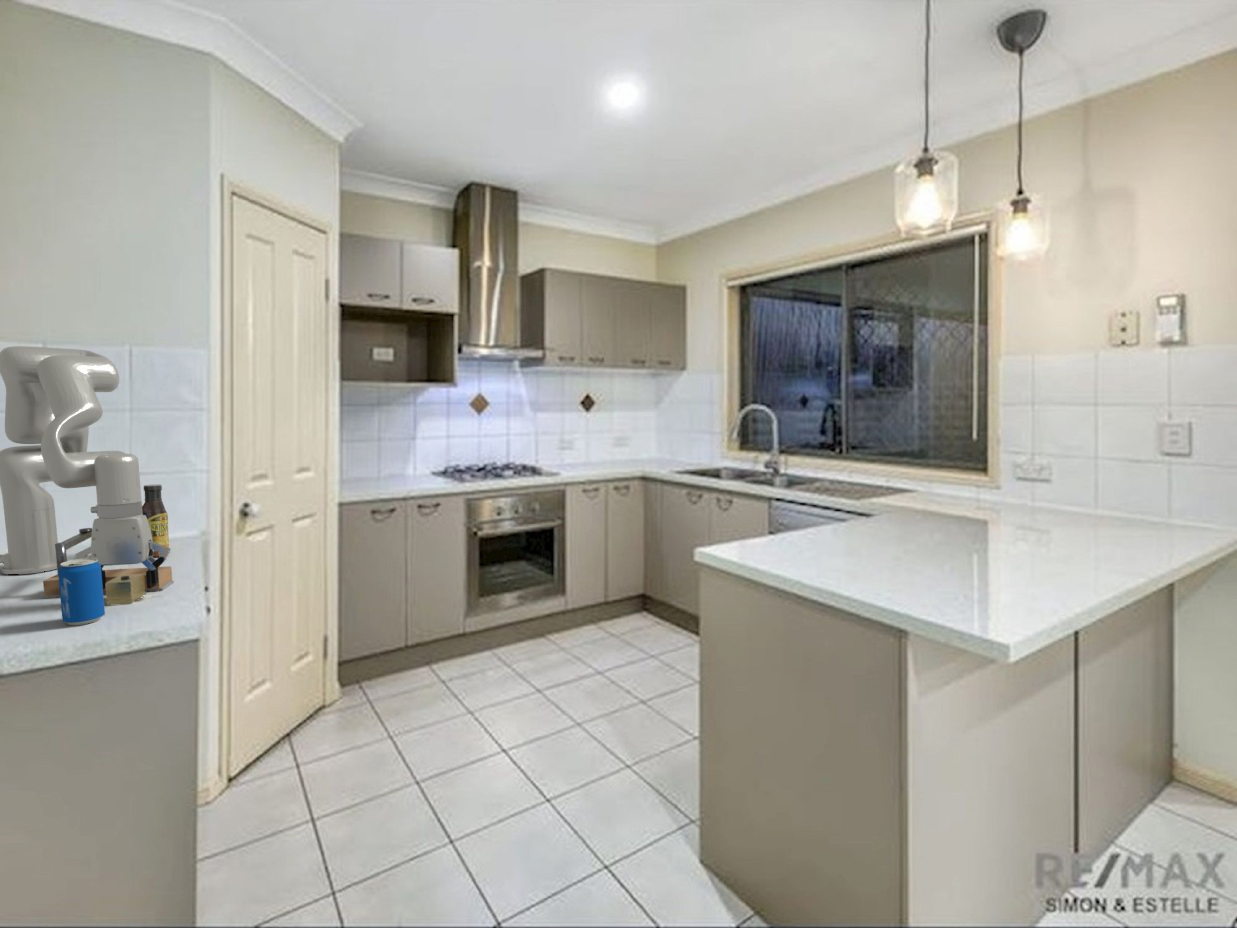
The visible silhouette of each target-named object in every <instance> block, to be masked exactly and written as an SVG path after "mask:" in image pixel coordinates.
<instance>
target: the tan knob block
mask: <svg viewBox="0 0 1237 928" xmlns="http://www.w3.org/2000/svg"><path fill="white" fill-rule="evenodd" d="M105 587H106V594H105V597H106V606H107V605H108V606H112V605H111V604H123V605H130V604H129V603H133V602H134V601H136V600H137V601H139V600H140V599H142V598H144V596H143V595H145V594H146V595H147V592H146V591H145V578H144V574H129V575H119V576H118V577H116V578H114V579H112V580H110V581H108V582H106V583H105ZM146 595H145V596H146ZM141 597H142V598H141ZM138 599H139V600H138ZM137 601H136V602H137ZM134 603H135V602H134ZM134 603H133V604H134Z"/></svg>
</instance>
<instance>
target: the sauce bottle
mask: <svg viewBox="0 0 1237 928" xmlns="http://www.w3.org/2000/svg"><path fill="white" fill-rule="evenodd" d="M162 490H163V488H162V484H159V483H158V484H145V485H143V492H144V504H142V513H143V515H146V517H147V520H148V523H149V526H150V530H151V534H152V540H153V542H155V543H158V544H161V545H163V546H166V547H169V548H170V544H169V543H170V539H169V517H168V512H167V510H166V508H165V505H164V502H163V498H162ZM159 555H160V552H158V551H155V550H154V554H153V558H159Z"/></svg>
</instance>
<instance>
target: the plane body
mask: <svg viewBox="0 0 1237 928" xmlns="http://www.w3.org/2000/svg"><path fill="white" fill-rule="evenodd" d="M103 570H104V571H105V576H106V582H108V581H110V580H112V579H114V578H116V577H118V576H119V575H129V574H144V578H145V591H150V592H162V591H164V590H166V589H167V588H169V587H170V586H171V585H173V584H174V583H175V582H174V580H173V573H172V565H170V566H169V565H168V566H159V567H158V577H159V581H158V583H157V585H156V586H154V587H153V588H150V589H148V588H147V579H146V571H148V568H147V567H138V568H137V567H135V568H134V567H133V568H118V569H117V568H116V569H115V568H113V569H103ZM42 585H43V594H44V595H43V596H42V598H43V599H54V598H60V588H59V577H58V573H57V574H55V575H53V576H51V577H49V578H46V579H44V580H42ZM166 587H167V588H166ZM103 594H104V595H106V588H105V589H103Z"/></svg>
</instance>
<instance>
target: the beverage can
mask: <svg viewBox="0 0 1237 928" xmlns="http://www.w3.org/2000/svg"><path fill="white" fill-rule="evenodd" d="M97 561H98V560H97V559H94V558H89V557H88V558H86V559H77V558H76V559H72V560H67V562H63V563H61V564H60V566H61V567H60V568H59V570H58V573H57V574H58V577H59V588H60V597H59V598H60V599H59V600H60V607H61V608H60V609H61V617H62V618H61V619H62V620H61V621H62V623H65V624H67V625H69V626H82V625H83V626H84V625H88V623H89V624H93V623H95V622H94V621H96V622H98V621H100V620H101V618H102V617H104V616H105V614H106V610H105V609H106V608H105V601H104V600H105V599H104V595H103V585H102V573H101V565H100V564H99V563H98V562H97ZM99 619H100V620H99ZM97 620H98V621H97Z"/></svg>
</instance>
